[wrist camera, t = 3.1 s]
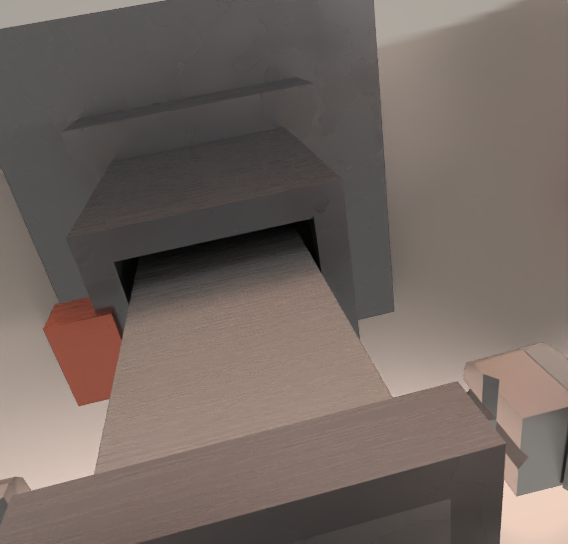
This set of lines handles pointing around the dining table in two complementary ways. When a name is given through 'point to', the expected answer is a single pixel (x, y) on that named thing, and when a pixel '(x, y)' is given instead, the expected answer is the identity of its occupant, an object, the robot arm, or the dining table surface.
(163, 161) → the base
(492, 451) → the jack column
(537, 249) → the dining table surface
